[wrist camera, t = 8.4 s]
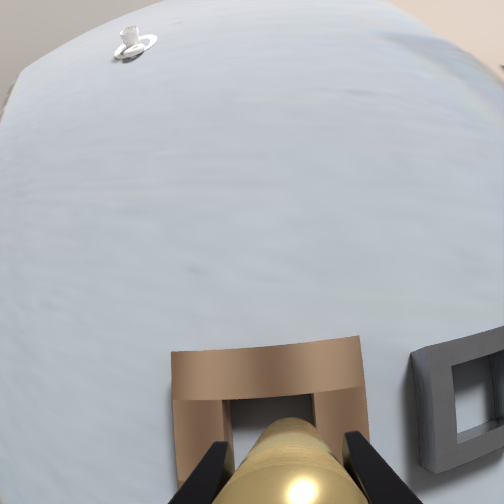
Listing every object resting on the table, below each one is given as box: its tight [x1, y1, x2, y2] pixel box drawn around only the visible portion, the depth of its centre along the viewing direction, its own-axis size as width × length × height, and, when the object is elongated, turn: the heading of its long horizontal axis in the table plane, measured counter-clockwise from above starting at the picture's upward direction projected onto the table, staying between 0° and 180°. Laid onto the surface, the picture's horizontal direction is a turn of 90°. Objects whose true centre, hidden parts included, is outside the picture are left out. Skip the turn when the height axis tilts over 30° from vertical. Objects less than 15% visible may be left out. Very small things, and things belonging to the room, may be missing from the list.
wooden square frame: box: [171, 336, 370, 489], centre depth 18 cm, size 12×12×3 cm
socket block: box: [411, 326, 504, 474], centre depth 17 cm, size 9×9×3 cm
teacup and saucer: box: [114, 26, 157, 59], centre depth 43 cm, size 9×8×4 cm
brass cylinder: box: [212, 417, 368, 504], centre depth 9 cm, size 3×3×11 cm
